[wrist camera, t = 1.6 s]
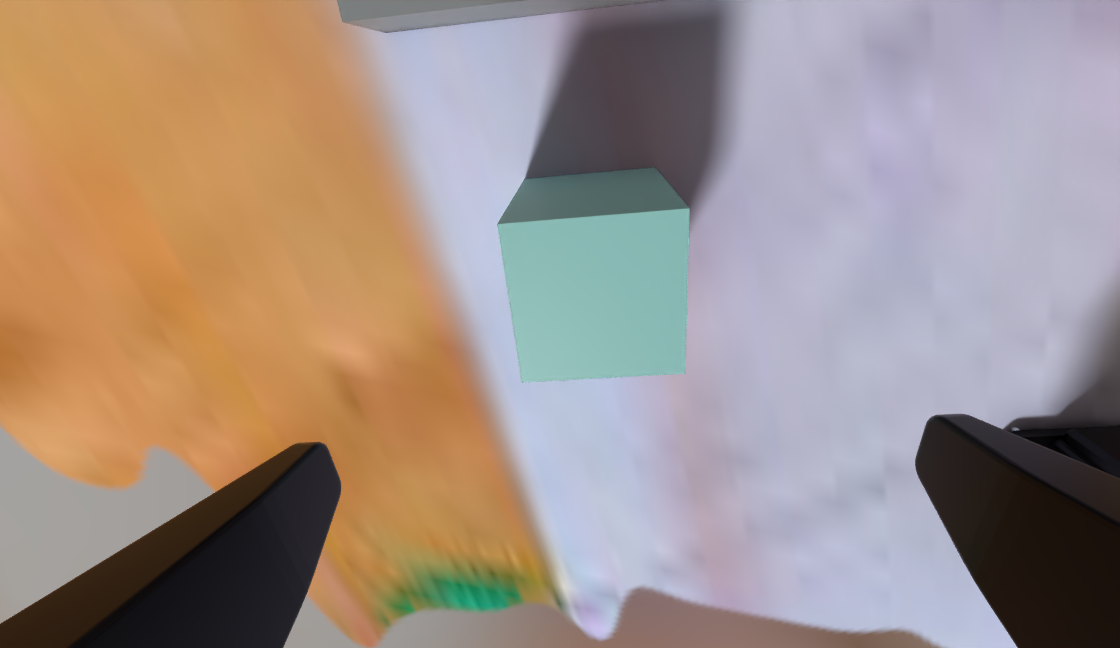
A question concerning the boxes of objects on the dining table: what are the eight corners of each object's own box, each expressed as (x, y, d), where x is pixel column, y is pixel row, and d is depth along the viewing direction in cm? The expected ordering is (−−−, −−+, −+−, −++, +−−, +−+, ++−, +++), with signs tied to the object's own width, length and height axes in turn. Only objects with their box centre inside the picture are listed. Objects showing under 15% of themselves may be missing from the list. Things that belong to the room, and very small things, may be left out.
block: (655, 288, 18) (685, 373, 13) (539, 296, 19) (521, 382, 13) (655, 167, 16) (689, 208, 11) (524, 178, 17) (497, 223, 11)
